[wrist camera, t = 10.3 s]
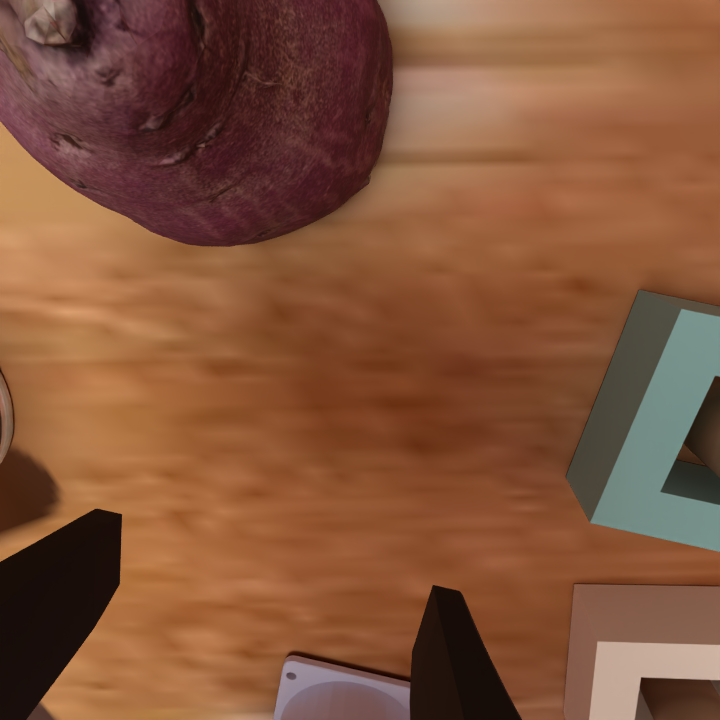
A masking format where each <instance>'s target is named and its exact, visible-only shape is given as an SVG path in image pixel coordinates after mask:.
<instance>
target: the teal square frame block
mask: <svg viewBox="0 0 720 720" xmlns="http://www.w3.org/2000/svg"><path fill="white" fill-rule="evenodd" d="M715 376H719V377H720V306H715V305H710V304H706V303H701V302H696V301H691V300H686V299H682V298H677V297H672V296H667V295H662V294H657V293H653V292H648V291H643V290H639V291H638V294H637V296H636V299H635V301H634V304H633V306H632V309H631V311H630V314H629V317H628V319H627V322H626V324H625V327H624V329H623V332H622V334H621V337H620V340H619V342H618V345H617V347H616V350H615V352H614V355H613V357H612V360H611V363H610V365H609V368H608V370H607V373H606V375H605V378H604V380H603V383H602V386H601V388H600V391H599V393H598V396H597V398H596V401H595V403H594V406H593V409H592V411H591V414H590V416H589V419H588V421H587V424H586V426H585V429H584V432H583V434H582V437H581V439H580V442H579V444H578V447H577V449H576V452H575V455H574V457H573V460H572V462H571V465H570V467H569V470H568V472H567V475H566V478H567V480H568V482H569V484H570V486H571V488H572V490H573V492H574V493H575V495H576V497H577V499H578V501H579V503H580V505H581V507H582V509H583V510H584V512H585V514H586V516H587V518H588V520H589V522H590V523H593V524H597V525H602V526H606V527H611V528H615V529H620V530H624V531H629V532H633V533H638V534H642V535H647V536H651V537H656V538H660V539H665V540H669V541H674V542H678V543H683V544H688V545H692V546H697V547H701V548H706V549H710V550H715V551H719V552H720V478H719V477H718V476H717V475H716V474H715V473H714V472H713V471H712V470H711V469H710V468H709V467H706V466H702V465H697V464H692V463H688V462H683V461H679V460H675V459H676V457H677V455H678V453H679V451H680V449H681V447H682V445H683V442H684V440H685V438H686V436H687V434H688V432H689V430H690V428H691V426H692V423H693V421H694V419H695V417H696V415H697V413H698V411H699V409H700V407H701V404H702V402H703V400H704V398H705V396H706V394H707V392H708V390H709V388H710V386H711V383H712V381H713V379H714V377H715Z"/></svg>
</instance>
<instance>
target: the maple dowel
mask: <svg viewBox="0 0 720 720" xmlns="http://www.w3.org/2000/svg"><path fill="white" fill-rule="evenodd" d="M683 444H684V445H686V446H687V447H688V448H689V449H690V450H691V451H692V452H693V453H694V454H695V455H696V456H697V457H698V458H699V459H700V460H701V461H702V462H704V463H705V464H706V465H707V466H708V467H709V468H710V469H711V470H712V471H713V472H714V473H715V474H716V475H717V476H718V477H719V478H720V377H717V376H715V377H714V379H713V381H712V383H711V386H710V388H709V390H708V392H707V394H706V396H705V398H704V400H703V402H702V404H701V407H700V409H699V411H698V413H697V415H696V417H695V419H694V421H693V423H692V426H691V428H690V430H689V432H688V434H687V436H686V438H685V440H684V442H683Z"/></svg>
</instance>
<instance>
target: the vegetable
mask: <svg viewBox="0 0 720 720" xmlns="http://www.w3.org/2000/svg"><path fill="white" fill-rule="evenodd" d="M392 86H393V72H392V47H391V42H390V39H389V33H388V28H387V23H386V20H385V17H384V14H383V12H382V10H381V8H380V6H379V4H378V2H377V0H0V121H1V122H2V123H3V125H4V126H5V127H6V128H7V129H8V130H9V132H10V133H11V134H12V135H13V136H14V138H15V139H16V140H17V141H18V142H19V143H20V145H21V146H22V147H23V148H24V149H25V150H26V151H27V152H28V153H29V154H30V155H31V156H32V157H33V158H34V159H36V160H37V161H38V162H39V163H40V164H41V165H43V166H44V167H45V168H46V169H47V170H49V171H50V172H51V173H52V174H53V175H54V176H56V177H57V178H58V179H60V180H61V181H62V182H64V183H65V184H67V185H68V186H70V187H71V188H72V189H74V190H75V191H77V192H79V193H81V194H82V195H84V196H86V197H87V198H89V199H91V200H93V201H94V202H96V203H98V204H99V205H101V206H103V207H106V208H108V209H110V210H113V211H115V212H117V213H120V214H122V215H124V216H126V217H128V218H130V219H132V220H133V221H134V222H136V223H138V224H139V225H141V226H143V227H144V228H146V229H148V230H149V231H151V232H153V233H156V234H158V235H161V236H163V237H167V238H170V239H173V240H175V241H178V242H181V243H185V244H188V245H197V246H226V247H230V246H235V245H243V244H253V243H258V242H262V241H265V240H269V239H272V238H275V237H278V236H281V235H284V234H287V233H290V232H292V231H295V230H297V229H299V228H302V227H304V226H307V225H309V224H311V223H313V222H315V221H317V220H319V219H320V218H322V217H324V216H326V215H328V214H330V213H331V212H333V211H334V210H336V209H338V208H339V207H341V206H342V205H343V204H344V203H345V202H346V201H347V200H348V199H349V198H351V197H352V196H353V195H354V194H355V193H357V192H358V191H359V190H361V189H362V188H363V187H365V186H366V185H368V184H369V180H370V172H371V170H372V168H373V167H374V166H375V165H376V161H377V158H378V156H379V153H380V151H381V147H382V143H383V136H384V132H385V128H386V124H387V118H388V114H389V104H390V101H391V95H392Z"/></svg>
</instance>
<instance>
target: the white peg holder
mask: <svg viewBox="0 0 720 720" xmlns="http://www.w3.org/2000/svg"><path fill="white" fill-rule="evenodd" d="M641 677H647V678H674V679H702V680H710V681H711V683H712V684H713V686H714V688H715V689H716V691H717V693H718V694H719V696H720V586H661V585H599V584H574V591H573V603H572V615H571V627H570V638H569V650H568V662H567V674H566V686H565V698H564V709H563V713H564V716H565V720H654V719H653V717H652V715H651V713H650V711H649V708H648V706H647V704H646V702H645V700H644V697H643V695H642V693H641V691H640V689H639V688H640V681H641Z"/></svg>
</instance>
